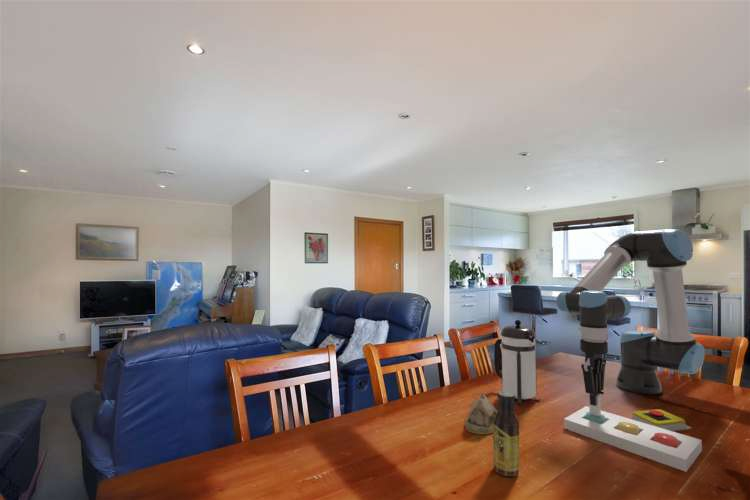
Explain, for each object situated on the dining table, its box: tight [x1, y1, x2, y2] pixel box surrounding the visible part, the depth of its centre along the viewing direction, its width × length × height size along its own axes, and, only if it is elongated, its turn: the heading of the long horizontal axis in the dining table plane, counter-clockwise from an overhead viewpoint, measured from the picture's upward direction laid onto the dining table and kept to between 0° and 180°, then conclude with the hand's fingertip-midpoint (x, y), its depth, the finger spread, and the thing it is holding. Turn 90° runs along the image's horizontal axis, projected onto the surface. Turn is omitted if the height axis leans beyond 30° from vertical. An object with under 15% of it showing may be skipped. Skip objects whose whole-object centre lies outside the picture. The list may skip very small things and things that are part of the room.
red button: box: [655, 433, 678, 448], centre depth 101 cm, size 5×5×4 cm
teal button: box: [586, 412, 605, 424], centre depth 115 cm, size 5×5×4 cm
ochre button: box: [618, 422, 639, 436], centre depth 108 cm, size 5×5×4 cm
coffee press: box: [493, 319, 541, 406], centre depth 142 cm, size 17×16×30 cm
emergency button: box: [631, 408, 692, 432], centre depth 118 cm, size 9×4×15 cm
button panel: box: [563, 405, 703, 473], centre depth 108 cm, size 16×30×3 cm, turn 38°
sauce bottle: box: [492, 390, 520, 478], centre depth 93 cm, size 7×6×20 cm
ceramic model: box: [465, 393, 498, 435], centre depth 118 cm, size 14×11×10 cm
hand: (595, 414), depth 115 cm, fingers closed
